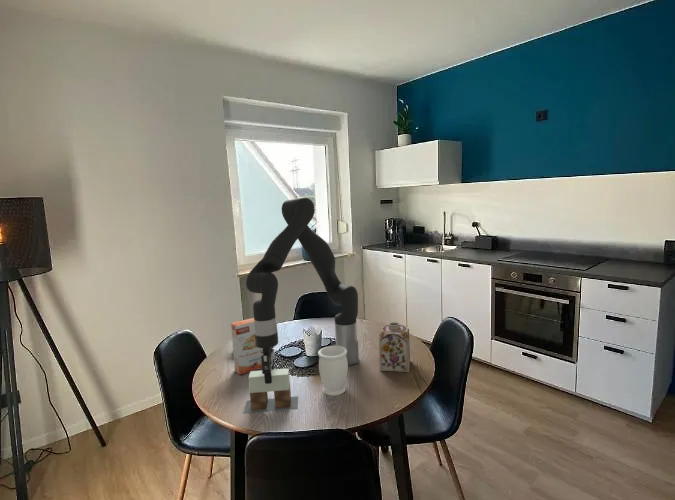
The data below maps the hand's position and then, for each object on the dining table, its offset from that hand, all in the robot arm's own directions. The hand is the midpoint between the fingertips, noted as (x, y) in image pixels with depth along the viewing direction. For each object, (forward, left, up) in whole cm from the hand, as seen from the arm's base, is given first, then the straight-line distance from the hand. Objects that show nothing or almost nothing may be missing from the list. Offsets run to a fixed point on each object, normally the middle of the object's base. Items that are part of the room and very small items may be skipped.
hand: (269, 377), depth 127 cm
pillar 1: (+4, 0, -10) cm, 11 cm away
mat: (0, 0, -10) cm, 10 cm away
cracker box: (+11, -31, -11) cm, 35 cm away
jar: (-22, -7, -11) cm, 25 cm away
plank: (0, 0, -4) cm, 4 cm away
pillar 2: (-4, 0, -10) cm, 11 cm away
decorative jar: (-48, -23, -11) cm, 54 cm away
